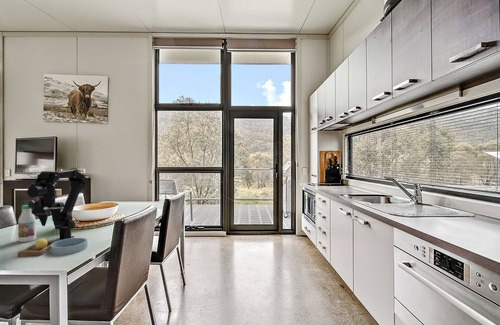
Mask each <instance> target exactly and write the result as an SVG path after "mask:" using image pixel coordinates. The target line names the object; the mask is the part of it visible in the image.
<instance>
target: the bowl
mask: <svg viewBox="0 0 500 325" xmlns="http://www.w3.org/2000/svg"><path fill="white" fill-rule="evenodd" d="M56 241H57V242H54V243H52V244H51V250H50V254H53V255H56V256H57V255H71V254H75V253H79V252H82V251H84V250H86V249H87V248H88V239H87V238H86V237H73V238H69V239H64V240H56Z"/></svg>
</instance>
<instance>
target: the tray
mask: <svg viewBox="0 0 500 325" xmlns="http://www.w3.org/2000/svg"><path fill="white" fill-rule="evenodd" d="M57 241H58V240H51V241H48V240H47V246H46V247H44V248H42V249H38V248H36V246H35V243H34V244H32V245H29V246H28V247H25V248H24V249H21V250H20V251H18V252H17V253H16V255H17V257H19V258H21V257H39V256H43V255H45V254H47V253H48V252H50V251H51V244H52V243H54V242H57Z"/></svg>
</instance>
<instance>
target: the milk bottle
mask: <svg viewBox="0 0 500 325" xmlns="http://www.w3.org/2000/svg"><path fill="white" fill-rule="evenodd" d="M31 210H32V209H31V208H30V207H28V204H23V205H21V213H20V215H19V218H18V221H17V222H18V224H17V228H18V229H17V230H18V232H17V233H18V234H17V237H18V242H19V243H26V242H33V241H35V240H36V239H37V222H36V221H37V220H36V215H33V214H31Z"/></svg>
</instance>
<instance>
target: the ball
mask: <svg viewBox="0 0 500 325" xmlns="http://www.w3.org/2000/svg"><path fill="white" fill-rule="evenodd" d="M47 241H48V240H47V239H46V238H39V239H37V240H36V241H35V243H34V244H35V246H36V248H38V249H42V248H44V247H46V246H47Z"/></svg>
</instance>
